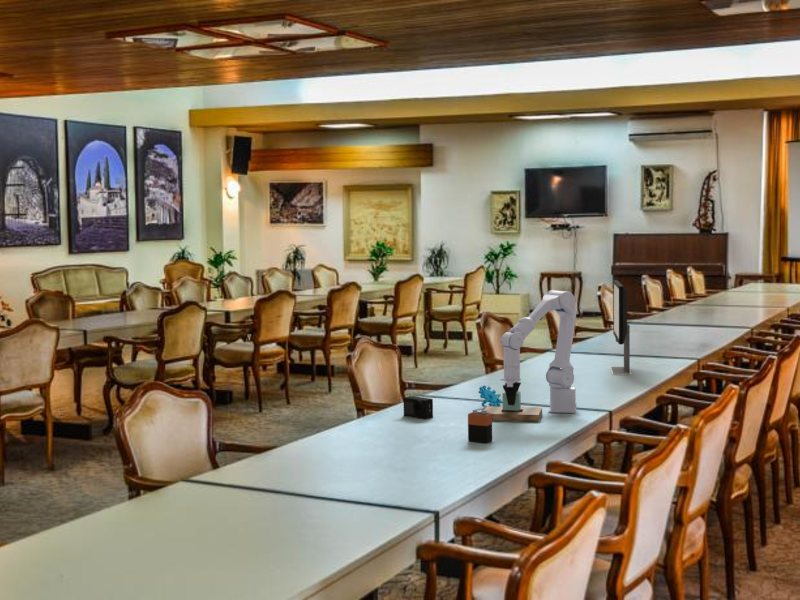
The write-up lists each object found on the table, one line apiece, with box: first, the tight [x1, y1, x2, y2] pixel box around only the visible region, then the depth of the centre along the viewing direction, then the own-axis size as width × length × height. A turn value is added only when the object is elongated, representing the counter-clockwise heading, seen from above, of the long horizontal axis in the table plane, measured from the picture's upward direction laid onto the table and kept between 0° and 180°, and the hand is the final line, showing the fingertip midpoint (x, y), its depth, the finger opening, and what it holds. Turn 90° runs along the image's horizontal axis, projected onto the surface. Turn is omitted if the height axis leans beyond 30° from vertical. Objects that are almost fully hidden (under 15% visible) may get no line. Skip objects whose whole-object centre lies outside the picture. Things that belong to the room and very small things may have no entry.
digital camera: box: [403, 395, 434, 420], centre depth 378 cm, size 10×5×7 cm, turn 49°
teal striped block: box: [501, 390, 522, 410], centre depth 374 cm, size 6×4×6 cm, turn 78°
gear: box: [478, 385, 502, 407], centre depth 398 cm, size 11×6×10 cm
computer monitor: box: [609, 279, 632, 376], centre depth 474 cm, size 41×8×40 cm, turn 172°
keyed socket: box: [484, 405, 543, 423], centre depth 375 cm, size 20×14×2 cm
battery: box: [467, 409, 493, 444], centre depth 337 cm, size 4×7×10 cm, turn 58°
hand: (512, 403), depth 374 cm, fingers closed on teal striped block, 4 cm apart
